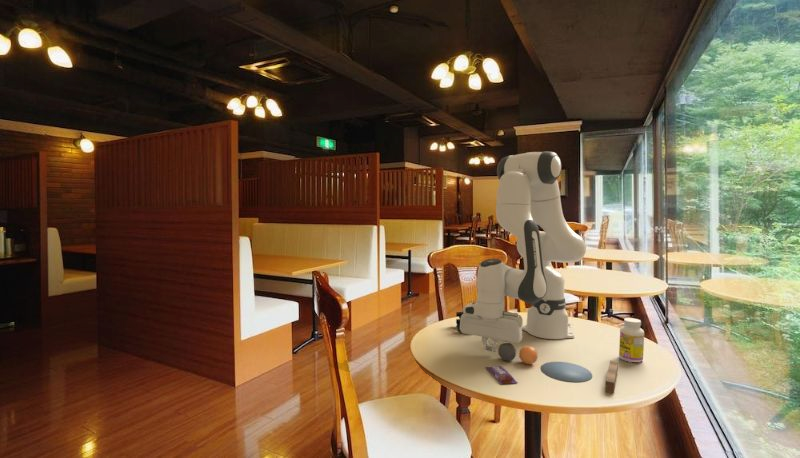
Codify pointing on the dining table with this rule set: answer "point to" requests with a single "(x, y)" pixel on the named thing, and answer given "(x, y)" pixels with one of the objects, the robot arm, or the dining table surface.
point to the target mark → (566, 371)
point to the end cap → (458, 321)
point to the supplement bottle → (631, 341)
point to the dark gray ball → (507, 351)
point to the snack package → (501, 374)
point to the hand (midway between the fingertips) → (489, 350)
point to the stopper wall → (611, 377)
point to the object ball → (528, 355)
